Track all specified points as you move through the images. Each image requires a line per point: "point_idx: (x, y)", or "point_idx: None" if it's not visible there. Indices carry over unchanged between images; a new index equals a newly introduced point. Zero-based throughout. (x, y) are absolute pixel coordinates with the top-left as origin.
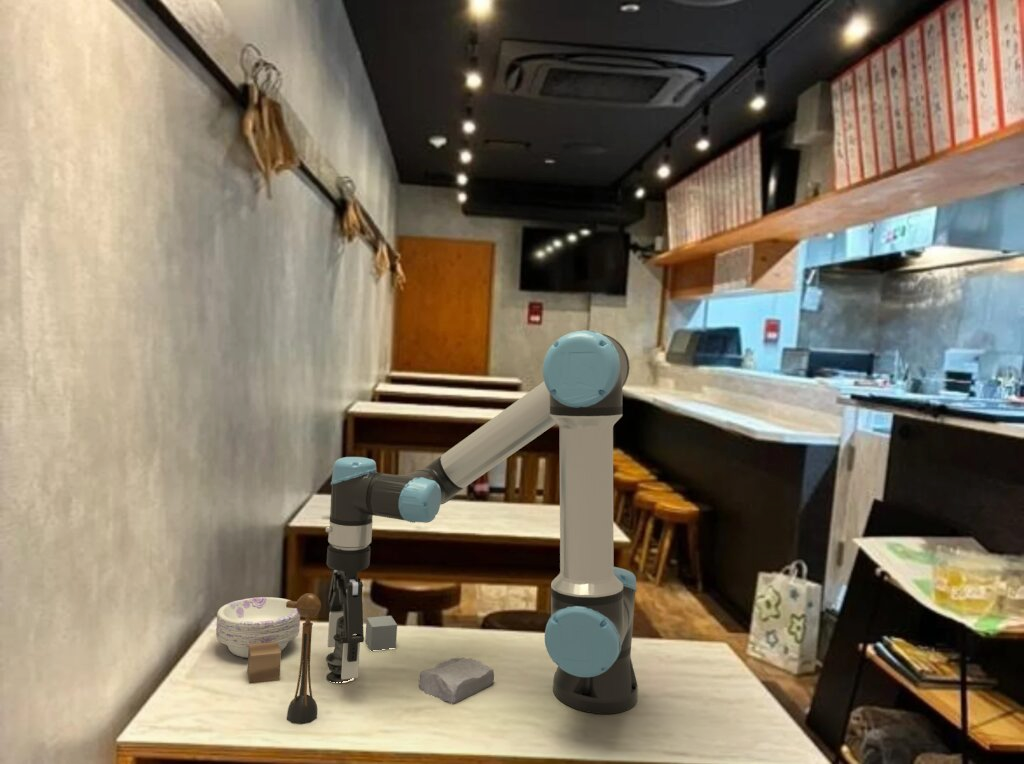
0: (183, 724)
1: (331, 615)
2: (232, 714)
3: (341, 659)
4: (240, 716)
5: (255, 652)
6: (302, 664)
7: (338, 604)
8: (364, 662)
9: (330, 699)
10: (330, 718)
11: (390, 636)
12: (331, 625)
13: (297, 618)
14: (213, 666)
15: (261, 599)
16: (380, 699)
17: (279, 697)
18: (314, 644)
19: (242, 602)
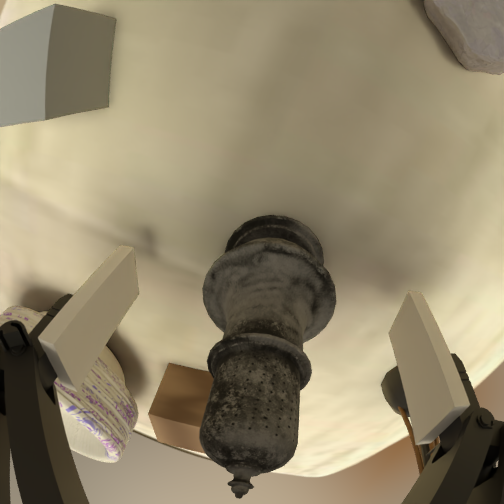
0: (320, 460)
1: (80, 380)
2: (329, 435)
3: (307, 326)
4: (342, 431)
5: (202, 449)
6: (420, 473)
7: (50, 409)
8: (185, 151)
9: (386, 323)
10: (452, 340)
11: (83, 34)
12: (99, 344)
13: None
14: (147, 414)
15: None
16: (464, 213)
17: (312, 392)
18: (51, 253)
19: None
